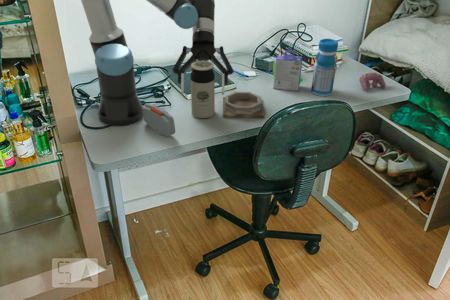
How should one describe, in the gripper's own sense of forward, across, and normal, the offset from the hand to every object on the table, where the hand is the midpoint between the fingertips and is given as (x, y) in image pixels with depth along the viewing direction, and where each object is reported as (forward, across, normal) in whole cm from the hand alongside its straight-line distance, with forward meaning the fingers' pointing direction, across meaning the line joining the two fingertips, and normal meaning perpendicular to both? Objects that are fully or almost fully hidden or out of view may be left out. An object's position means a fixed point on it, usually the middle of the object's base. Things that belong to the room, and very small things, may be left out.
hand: (202, 93), depth 148 cm
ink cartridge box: (-11, -32, -23) cm, 41 cm away
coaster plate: (+2, -14, -10) cm, 18 cm away
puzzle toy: (-19, -31, -32) cm, 48 cm away
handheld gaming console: (+13, +14, 0) cm, 19 cm away
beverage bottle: (-8, -45, -20) cm, 50 cm away
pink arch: (-11, -65, -23) cm, 70 cm away
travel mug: (+5, 0, -8) cm, 9 cm away
